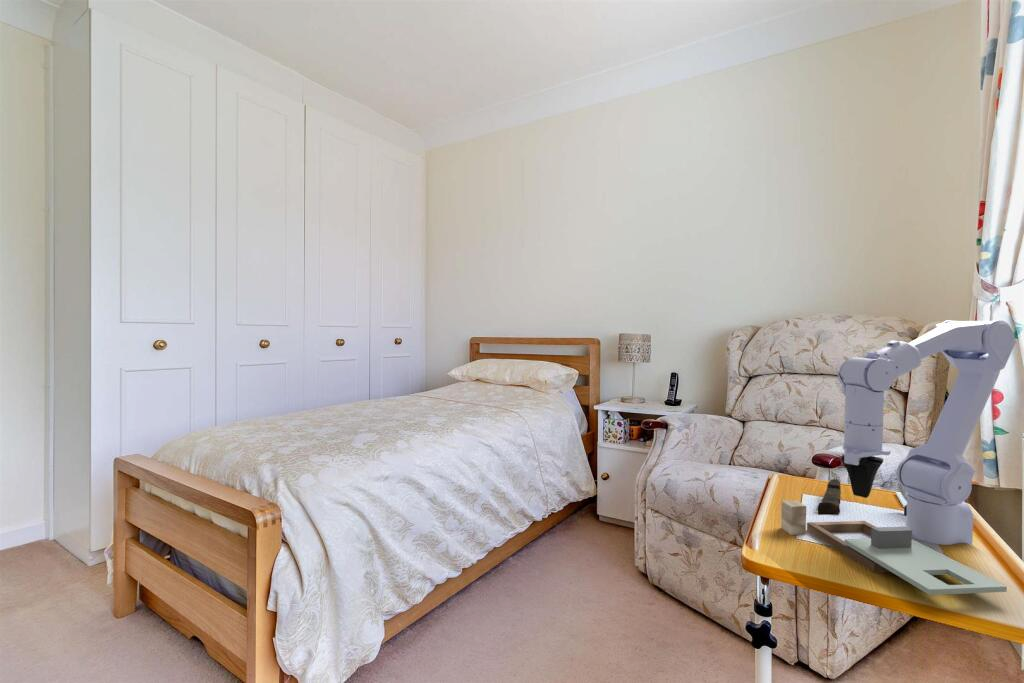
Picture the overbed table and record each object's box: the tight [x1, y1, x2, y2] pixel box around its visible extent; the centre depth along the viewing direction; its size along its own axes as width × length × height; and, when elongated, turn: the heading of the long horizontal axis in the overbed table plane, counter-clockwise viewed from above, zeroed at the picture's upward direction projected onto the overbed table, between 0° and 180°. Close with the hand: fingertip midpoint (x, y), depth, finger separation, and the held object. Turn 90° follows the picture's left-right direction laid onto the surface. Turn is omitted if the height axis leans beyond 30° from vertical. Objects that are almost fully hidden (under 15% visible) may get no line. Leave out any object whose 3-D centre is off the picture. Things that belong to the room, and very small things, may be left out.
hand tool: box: [816, 478, 842, 516], centre depth 110 cm, size 19×4×5 cm, turn 139°
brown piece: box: [806, 520, 892, 573], centre depth 87 cm, size 12×16×3 cm
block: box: [780, 499, 807, 536], centre depth 94 cm, size 3×3×7 cm
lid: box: [844, 526, 1008, 596], centre depth 77 cm, size 12×16×4 cm
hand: (861, 495), depth 89 cm, fingers closed
